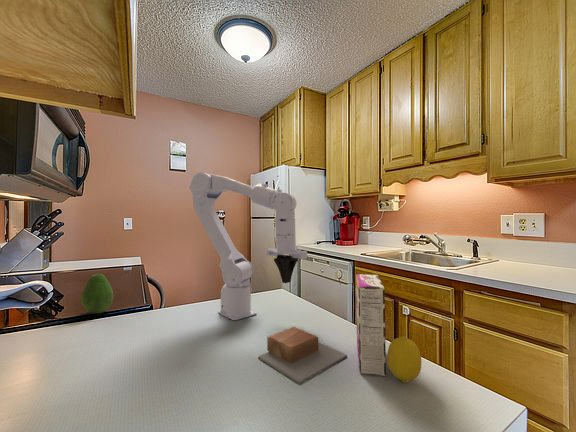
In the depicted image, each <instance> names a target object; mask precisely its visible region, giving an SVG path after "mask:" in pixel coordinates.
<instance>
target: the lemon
mask: <svg viewBox="0 0 576 432" xmlns="http://www.w3.org/2000/svg"><path fill="white" fill-rule="evenodd" d="M386 361H387V364H388V368H389V369H390V372H391V373H392V375H394V377H395V378H397V379H399V380H400V381H401V382H402V383H408V382H411V381H414V380H415V379H417V378H418V377H419V375H420V374H421V370H422V356H421V352H420V349H419V347H418V346H417V344H416V343H415V342H414V341H413V340H411V339H409V338H408V337H407V336H405V335H402V336H400V337H397V338H395V339H393V340H392V341H391V342H390V344H389V345H388V348H387V353H386Z"/></svg>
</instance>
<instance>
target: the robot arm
mask: <svg viewBox="0 0 576 432" xmlns="http://www.w3.org/2000/svg"><path fill="white" fill-rule="evenodd" d="M190 181H191V182H190V184H189V186H188V187H189V189H190V191H191V193H192V205H193V210H194V212H195V214H196V216H197V218H198V219H199V222H200V224H201V225H202V227H203V229H204V231H205V232H206V235H208V238H209V239H210V241H211V244H212V246H213V247H214V250H215V251H216V252H217V255H218V256H219V258H220V261H219V269H220V270H221V277H222V281H223V282H224V285H223V286H222V287H221V290H220V309H219V310H218V311H217V313H219V314H220V315H222V316H224V317H226V318H228V319H230V320H232V321H238V320H241V319H245V318H248V317H251V316H255V315H257V312H256V311H253V310H252V309H251V308H252V307H251V306H252V305H251V304H252V303H251V301H252V299H251V298H252V297H251V296H252V295H251V294H252V293H251V278H252V277H253V275H254V271H255V270H254V266H253V264H252V262H251V261H249V260H247V259H246V257H245V255H243V254H242V253H241V252H240V251H239V250H237V248H236V246H235V243H234V242H233V241H232V239H231V237H230V235H229V234H228V231H227V229H226V228H225V226H224V225H223V222H222V220H221V219H220V218H219V217H220V216H219V215H218V213H217V212H216V210H215V204H216V202H217V200H218V199H219V198H220V196H221V195H222V194H223V193H227V192H228V191H230V192H233V193H236V194H240V195H244V196H247V197H249V198H250V200H251V202H252V203H253V204H256V205H259V206H263V207H264V208H268V209H270V210H274V212H275V218H274V220H275V221H274V223H275V224H274V225H275V226H274V227H275V248H266V256H274V257H275V258H273V261H274V263H275V265H276V267H277V269H278V271H279V274H280V275H279V276H280V279H281V282H282V283H284V284H288V283H291V281H292V276H293V272H294V269H295V267H296V264H297V263H298V261H299V259H300V260H307V259H308V251H304V250H299V249H296V243H297V240H296V216H295V215H296V214H295V210H296V208H297V199H296V198H295V197H294V195H292V194H290V193H287V192H283V190H282V189H279V188H278V189H274V188H272V187H268V184H266V183H259V184H256V185H253V186H251V185H248V184H246V183H243V182H240V181H238V180H235V179H232V178H229V177H227V176H222V175H217V174H212V173H206V172H202V171H201V172H197V173H195V174H194V175H193V176H192V179H191V180H190Z"/></svg>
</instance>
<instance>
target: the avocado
mask: <svg viewBox="0 0 576 432" xmlns="http://www.w3.org/2000/svg"><path fill="white" fill-rule="evenodd" d="M113 300H114V291H113V288H112V286H111V284H110V282H109V280H108V278H107V277H106V276H105V275H104V274H102V273H95V274H92V275H91V276H90V278H88V280H87V281H86V284H85V286H84V289H83V290H82V294H81V300H80V301H81V304H82V307H83V308H84V310H85V311H86V312H88V313H91V314H102V313H104V312H107V311H108V310H109V309H110V307H111V306H112V303H113Z"/></svg>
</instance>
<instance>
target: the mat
mask: <svg viewBox="0 0 576 432" xmlns="http://www.w3.org/2000/svg"><path fill="white" fill-rule="evenodd" d="M346 358H348V354H347V353H344V352H342V351H339V350H336V349H335V348H333V347H331V346H328V345H325V344H324V343H321V342H319V341H318V351H316V352H314V353H312V354H310V355H308V356H306V357H304V358H302V359H300V360H298V361H296V362H294V363H292V364H291V363H289V362H287V361H285V360H284V359H282V358H280V357H278V356H276V355H275V354H273V353H271V352H269V351H268V352H265V353H263V354H260V355H259V356H258V357H257V359H258V360H260V361H262V362H263V363H265V364H266V365H268V366H270V367H271V368H273V369H274V370H276V371H277V372H279V373H280V374H282V375H284V376H285V377H287V378H289V380H290V379H291V380H292V381H293V382H294V383H297V384H298V385H301V384H302V383H304V382H305V381H307V380H310V379H311V378H312V377H314V376H316V375H318V374H319V373H322V372H323V371H325V370H327V369H328V368H331V367H332V366H334V365H335V364H337V363H339V362H340V361H342V360H344V359H346Z"/></svg>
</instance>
